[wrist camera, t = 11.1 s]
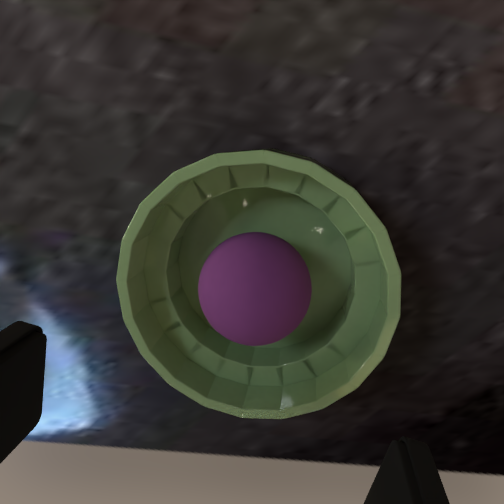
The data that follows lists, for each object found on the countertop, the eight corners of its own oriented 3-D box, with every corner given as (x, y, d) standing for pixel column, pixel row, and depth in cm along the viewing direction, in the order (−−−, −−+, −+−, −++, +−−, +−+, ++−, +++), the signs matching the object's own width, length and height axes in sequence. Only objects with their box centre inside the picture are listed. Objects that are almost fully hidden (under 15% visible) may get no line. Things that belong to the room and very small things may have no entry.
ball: (225, 210, 23) (195, 233, 17) (324, 236, 22) (327, 270, 17) (205, 300, 25) (172, 348, 19) (297, 326, 24) (291, 384, 19)
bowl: (174, 122, 22) (138, 117, 18) (418, 184, 21) (448, 196, 17) (139, 333, 27) (102, 375, 22) (341, 393, 26) (347, 450, 21)
